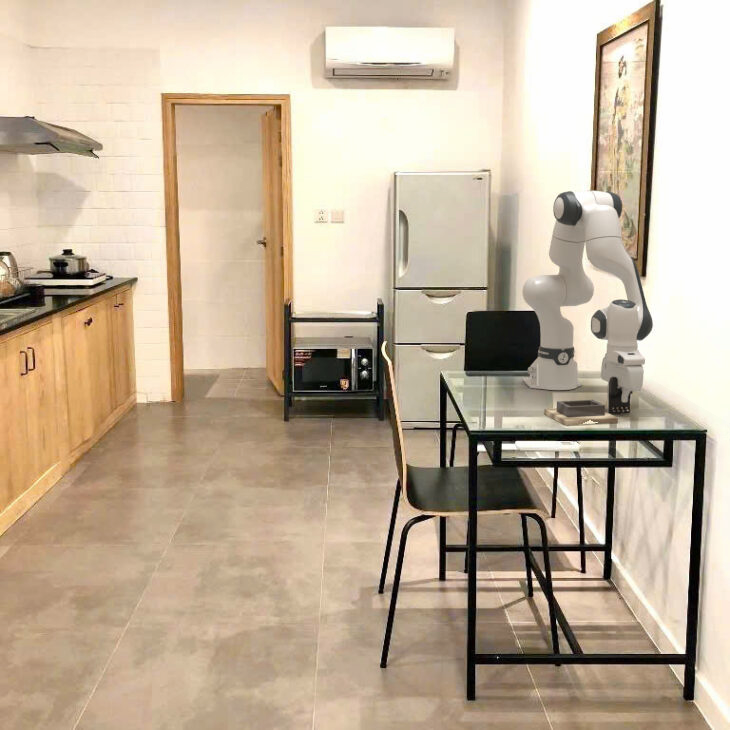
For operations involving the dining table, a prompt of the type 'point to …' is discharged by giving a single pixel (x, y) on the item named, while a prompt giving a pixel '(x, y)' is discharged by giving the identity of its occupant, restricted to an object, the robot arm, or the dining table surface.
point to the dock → (580, 412)
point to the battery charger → (617, 398)
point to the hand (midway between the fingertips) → (619, 400)
